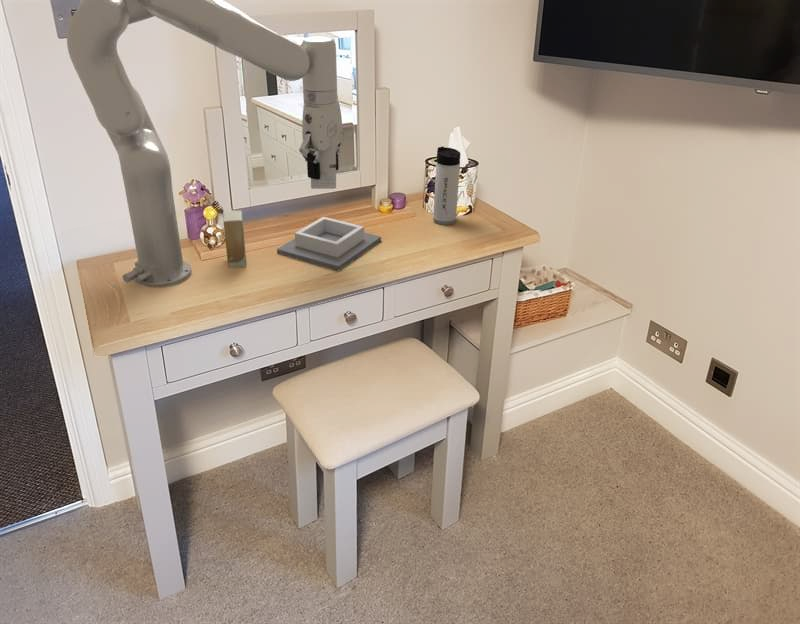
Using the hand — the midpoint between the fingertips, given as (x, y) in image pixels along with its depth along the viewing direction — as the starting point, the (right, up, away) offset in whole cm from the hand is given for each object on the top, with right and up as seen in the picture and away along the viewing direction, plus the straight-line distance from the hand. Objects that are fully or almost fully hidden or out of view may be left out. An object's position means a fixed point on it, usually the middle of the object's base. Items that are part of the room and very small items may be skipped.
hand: (323, 173), depth 162 cm
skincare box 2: (0, -3, +2) cm, 3 cm away
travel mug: (+30, -8, +29) cm, 42 cm away
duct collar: (0, -16, +12) cm, 20 cm away
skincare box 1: (-21, -21, +3) cm, 30 cm away
